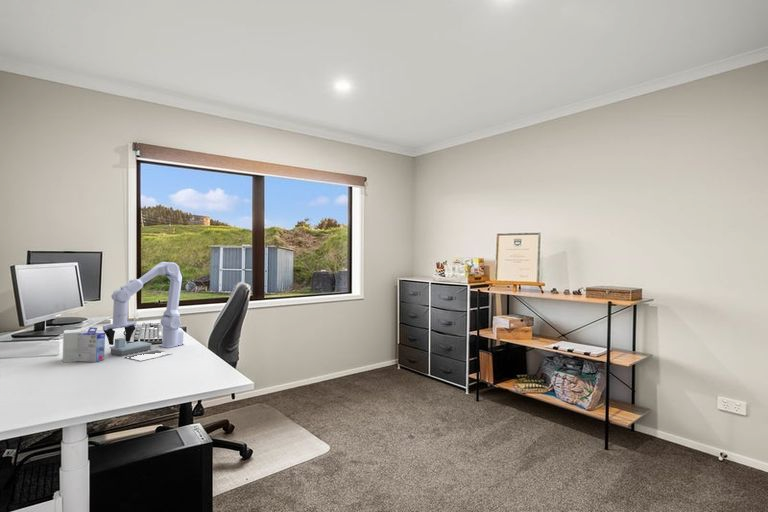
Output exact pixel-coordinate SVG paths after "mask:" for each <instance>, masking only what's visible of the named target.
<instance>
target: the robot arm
mask: <svg viewBox="0 0 768 512" xmlns="http://www.w3.org/2000/svg"><path fill="white" fill-rule="evenodd" d="M162 275H163V276H166V277H167V279H169V288H168V289H169V290H168V295H167V303H166V310H165V311H164V312H163V315H162V317H161V319H160V325H161V326H162V339H161V341H162V342H161V343H162V344H158V347H161V348H167V349H169V348H174V347H178V345H179V346H183V345H182V344H184V345H185V343H184V329H183V328H182V327H181V323H182V321H181V313H179V312H180V311H179V304H180V298H181V297H180V295H181V289H182V282H183V276H182V273H181V271H180V266H179V264H177V263H176V262H173V261H172V262H167V261H161V262H159V263H157V264H156V265H154V267H152V268H151V269H150V270H148V271H147V272H146V273H145V274H143V275H141V277H139V278H138V279H137V278H132V279H130V280H128V283H125V284H124V285H123V286H120V288H119V289H116V290H114V291H113V292H112V294H111V299H112V300H113V309H112V311H113V312H112V323H111V324H105V325H102V330H103V333H105V337H106V338H107V341H108V345H110V346H111V345H112V346H114V344H115V339H114V337H115V334H116V329H123V328H124V331H125V338H124V339H125V343H126V342H127V343H131V341H130V340H131V339H132V338H131V337H132V336H133V333H134V331H135V330H136V328H137V321H128V313H129V312H128V310H129V309H128V306H129V302H128V301H130V299H131V297H132V296H134V295H135V294H136V293H138V292H139V291H140V290H141V289H143V287H144V284H146V283H148V282H149V281H151V280H152V279H154V278H156V277H157V276H162Z"/></svg>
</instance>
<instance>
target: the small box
mask: <svg viewBox="0 0 768 512" xmlns="http://www.w3.org/2000/svg"><path fill="white" fill-rule="evenodd" d="M81 333H82V329H81V328H78V329H77V328H76V329H64V330H63V339H62V340H63V343H62V345H63V346H62V363H63V364H65V363H74V362H77V361H76V355H77V343H78V334H81Z"/></svg>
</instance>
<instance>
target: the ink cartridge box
mask: <svg viewBox="0 0 768 512" xmlns="http://www.w3.org/2000/svg"><path fill="white" fill-rule="evenodd" d="M97 331H98V327H89V328H88V330H87V332H85V331H84V332H81V334H78V343H77V355H76V361H75V362H92V363H97V362H100V361H103V360H105V347H106V334H105V332H97Z"/></svg>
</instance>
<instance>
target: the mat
mask: <svg viewBox="0 0 768 512" xmlns="http://www.w3.org/2000/svg"><path fill="white" fill-rule="evenodd" d="M161 352H165V351H164V350H157V349H156V350H149V351H145V352H140V353H135V354H131V355H126V356H124V357H125V358H124V359H127V357H129V358H131V357H134V356H137V355H142V354H143V355H144V354H155V353H161Z"/></svg>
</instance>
